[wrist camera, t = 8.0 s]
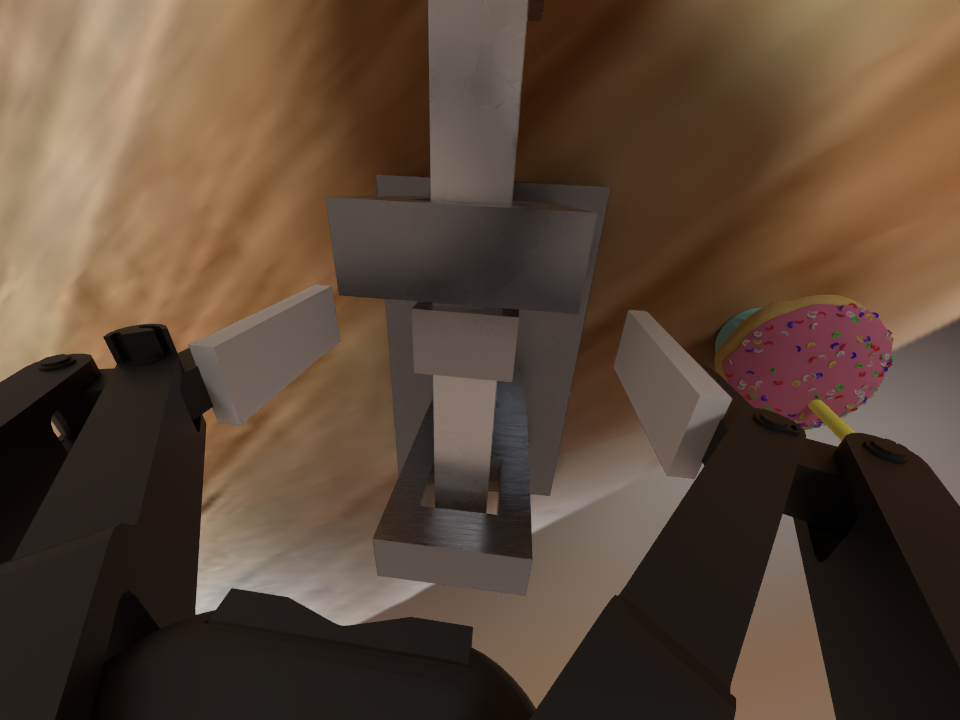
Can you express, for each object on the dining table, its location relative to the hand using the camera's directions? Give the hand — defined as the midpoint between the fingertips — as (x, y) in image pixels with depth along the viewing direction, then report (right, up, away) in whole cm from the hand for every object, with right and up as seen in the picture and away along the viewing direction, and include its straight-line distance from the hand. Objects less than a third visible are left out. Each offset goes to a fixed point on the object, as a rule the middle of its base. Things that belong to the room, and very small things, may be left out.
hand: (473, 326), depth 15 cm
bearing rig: (0, -1, +12) cm, 12 cm away
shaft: (0, +2, +3) cm, 3 cm away
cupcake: (+20, 0, +9) cm, 22 cm away
